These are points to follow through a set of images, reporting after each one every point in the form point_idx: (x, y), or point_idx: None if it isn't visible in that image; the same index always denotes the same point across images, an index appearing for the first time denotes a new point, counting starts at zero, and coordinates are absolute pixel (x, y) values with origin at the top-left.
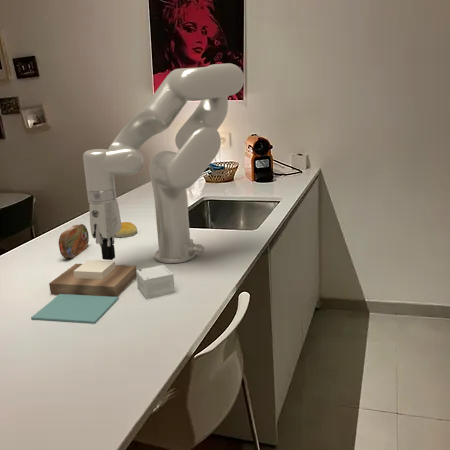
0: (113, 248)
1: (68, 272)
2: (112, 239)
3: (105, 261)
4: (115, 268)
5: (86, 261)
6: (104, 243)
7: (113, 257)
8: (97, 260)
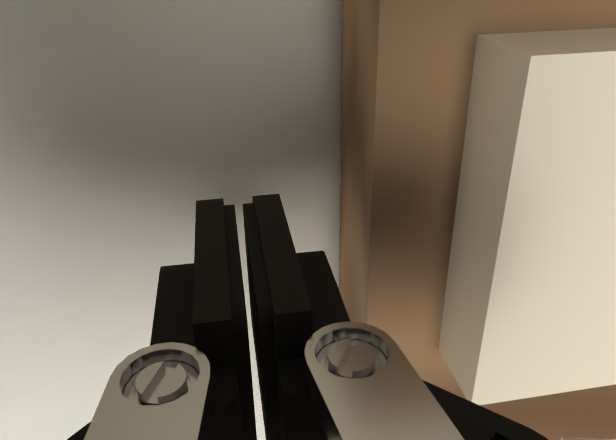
0: (230, 278)
1: (564, 422)
2: (196, 431)
3: (536, 190)
4: (496, 28)
5: (515, 395)
6: (519, 427)
7: (259, 201)
8: (488, 306)
